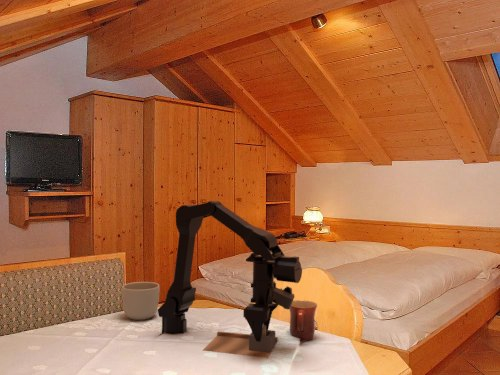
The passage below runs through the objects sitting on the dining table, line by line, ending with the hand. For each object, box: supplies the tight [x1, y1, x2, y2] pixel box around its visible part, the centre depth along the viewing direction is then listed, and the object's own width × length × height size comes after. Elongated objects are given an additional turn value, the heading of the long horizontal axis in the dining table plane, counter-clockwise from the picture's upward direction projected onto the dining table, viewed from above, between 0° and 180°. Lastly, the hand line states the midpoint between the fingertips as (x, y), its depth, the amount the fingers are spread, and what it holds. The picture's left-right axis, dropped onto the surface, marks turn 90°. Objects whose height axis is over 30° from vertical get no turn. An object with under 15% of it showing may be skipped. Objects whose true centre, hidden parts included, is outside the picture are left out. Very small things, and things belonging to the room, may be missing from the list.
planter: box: [121, 281, 160, 321], centre depth 153 cm, size 12×12×11 cm
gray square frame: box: [249, 329, 276, 354], centre depth 123 cm, size 6×6×4 cm
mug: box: [288, 299, 318, 342], centre depth 133 cm, size 12×9×10 cm
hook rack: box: [202, 325, 279, 359], centre depth 124 cm, size 18×13×7 cm
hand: (262, 335), depth 123 cm, fingers open, 9 cm apart
